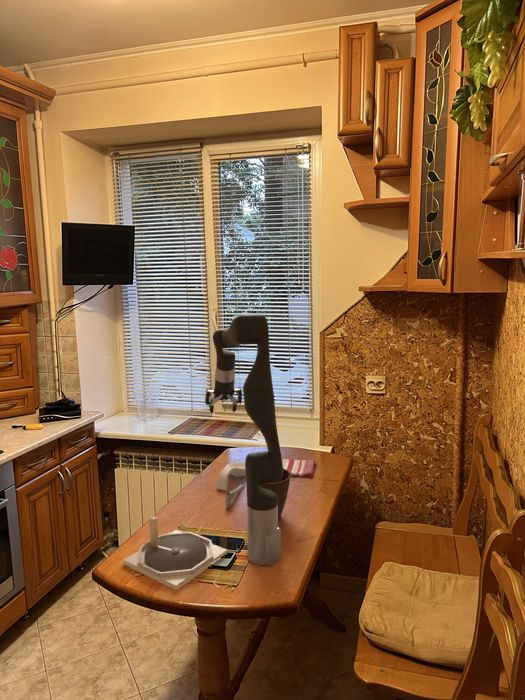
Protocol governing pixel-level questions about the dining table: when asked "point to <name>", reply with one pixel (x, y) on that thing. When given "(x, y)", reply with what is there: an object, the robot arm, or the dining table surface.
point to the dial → (173, 551)
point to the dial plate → (180, 576)
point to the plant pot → (279, 490)
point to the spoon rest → (235, 470)
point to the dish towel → (299, 467)
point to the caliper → (232, 495)
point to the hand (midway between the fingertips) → (222, 411)
